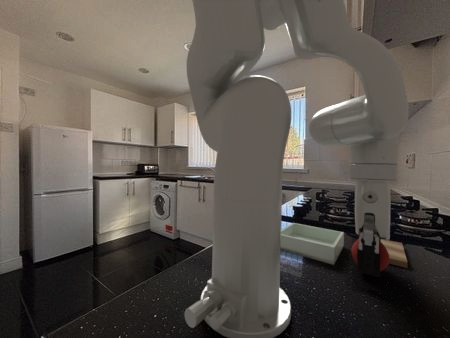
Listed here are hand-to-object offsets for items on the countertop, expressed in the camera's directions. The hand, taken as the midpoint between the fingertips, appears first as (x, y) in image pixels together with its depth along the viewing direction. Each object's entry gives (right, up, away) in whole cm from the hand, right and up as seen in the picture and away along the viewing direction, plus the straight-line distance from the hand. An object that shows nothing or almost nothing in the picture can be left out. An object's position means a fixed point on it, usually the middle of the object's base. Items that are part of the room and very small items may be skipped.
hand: (369, 263), depth 38 cm
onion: (0, -2, 0) cm, 2 cm away
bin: (-6, -2, +12) cm, 14 cm away
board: (+10, -2, +11) cm, 15 cm away
